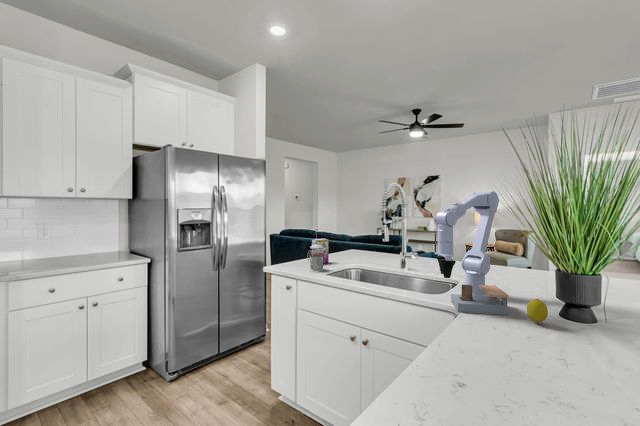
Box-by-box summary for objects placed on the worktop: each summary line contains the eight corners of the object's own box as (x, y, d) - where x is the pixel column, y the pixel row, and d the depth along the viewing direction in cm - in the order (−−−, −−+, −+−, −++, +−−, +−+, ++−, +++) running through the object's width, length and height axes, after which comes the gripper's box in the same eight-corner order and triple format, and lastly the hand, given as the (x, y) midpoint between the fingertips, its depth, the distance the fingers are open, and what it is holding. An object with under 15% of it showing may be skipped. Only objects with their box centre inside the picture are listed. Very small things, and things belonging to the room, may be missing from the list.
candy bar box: (316, 265, 202) (316, 240, 202) (311, 264, 206) (311, 239, 206) (329, 263, 210) (328, 238, 209) (324, 262, 214) (324, 238, 213)
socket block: (451, 301, 122) (451, 283, 122) (495, 303, 119) (495, 285, 119) (458, 312, 109) (458, 292, 109) (508, 315, 106) (508, 294, 106)
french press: (328, 269, 187) (328, 228, 186) (314, 272, 179) (313, 229, 178) (317, 267, 194) (316, 227, 193) (302, 270, 186) (302, 228, 185)
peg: (460, 305, 117) (460, 284, 117) (471, 306, 116) (471, 284, 116) (462, 308, 114) (462, 286, 113) (473, 309, 113) (473, 287, 112)
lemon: (551, 327, 95) (551, 301, 95) (531, 326, 96) (531, 300, 96) (542, 321, 100) (542, 296, 100) (523, 319, 102) (523, 295, 101)
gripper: (432, 239, 131) (432, 271, 131) (437, 243, 117) (437, 279, 117) (450, 239, 129) (450, 272, 129) (457, 243, 115) (457, 280, 115)
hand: (445, 275), depth 123 cm, fingers open, 7 cm apart
